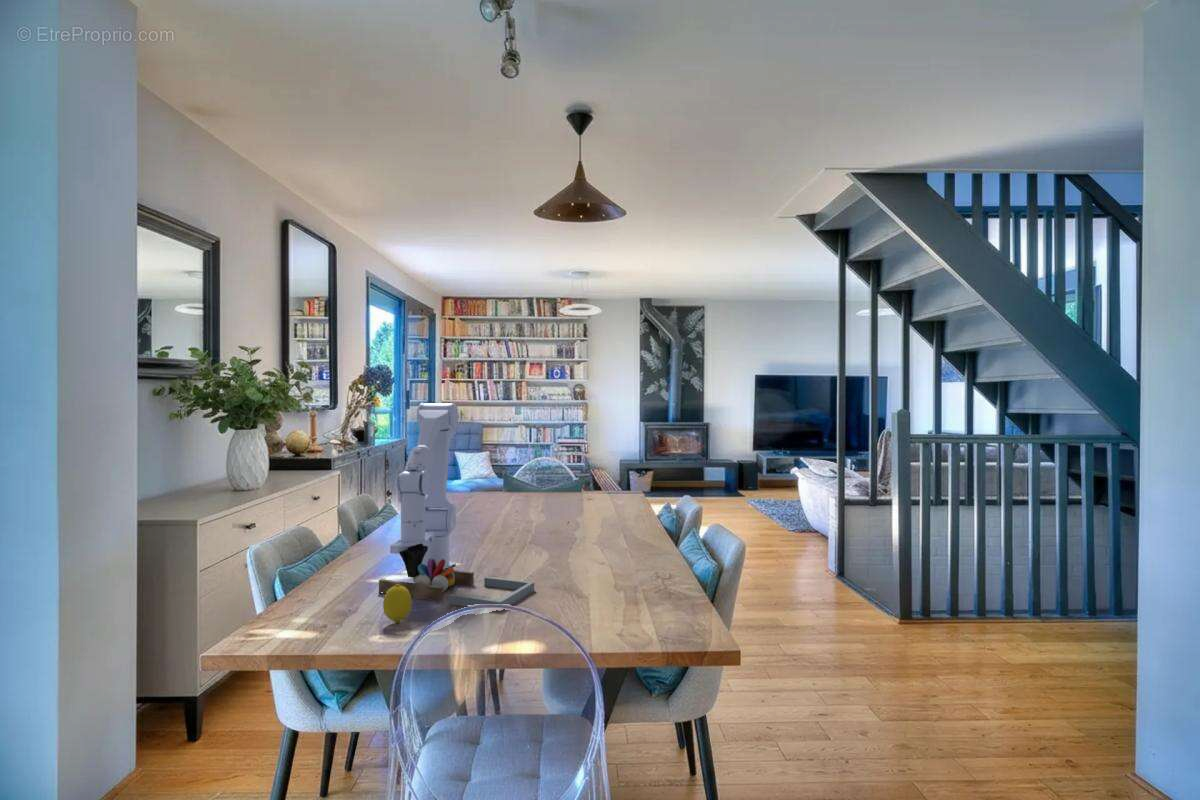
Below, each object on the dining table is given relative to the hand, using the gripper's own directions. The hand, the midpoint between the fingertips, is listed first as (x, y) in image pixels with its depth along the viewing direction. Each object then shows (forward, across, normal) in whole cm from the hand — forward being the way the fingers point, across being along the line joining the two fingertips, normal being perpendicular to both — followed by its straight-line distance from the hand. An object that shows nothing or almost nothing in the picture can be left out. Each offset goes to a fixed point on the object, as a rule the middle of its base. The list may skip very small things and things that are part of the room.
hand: (413, 576), depth 160 cm
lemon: (+3, -22, -13) cm, 25 cm away
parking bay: (+2, 0, -22) cm, 22 cm away
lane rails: (+2, 0, -4) cm, 5 cm away
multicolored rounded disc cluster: (+3, +1, -6) cm, 6 cm away
